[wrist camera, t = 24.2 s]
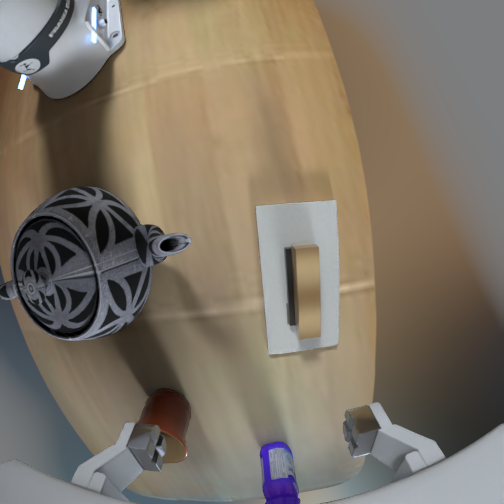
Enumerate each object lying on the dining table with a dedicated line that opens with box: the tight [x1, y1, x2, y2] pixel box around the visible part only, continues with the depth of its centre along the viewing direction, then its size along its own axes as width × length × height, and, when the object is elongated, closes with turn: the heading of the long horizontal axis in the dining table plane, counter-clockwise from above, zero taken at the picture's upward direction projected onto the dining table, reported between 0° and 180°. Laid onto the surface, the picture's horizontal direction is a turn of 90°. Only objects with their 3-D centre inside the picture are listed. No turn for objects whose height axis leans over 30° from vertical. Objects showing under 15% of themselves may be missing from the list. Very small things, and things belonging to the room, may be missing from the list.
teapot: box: [0, 186, 191, 340], centre depth 27 cm, size 19×31×15 cm, turn 104°
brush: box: [284, 242, 321, 340], centre depth 32 cm, size 11×4×4 cm, turn 5°
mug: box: [137, 389, 191, 463], centre depth 34 cm, size 12×9×10 cm
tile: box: [255, 200, 339, 355], centre depth 35 cm, size 20×10×1 cm, turn 5°
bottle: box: [260, 442, 300, 504], centre depth 33 cm, size 7×6×17 cm
